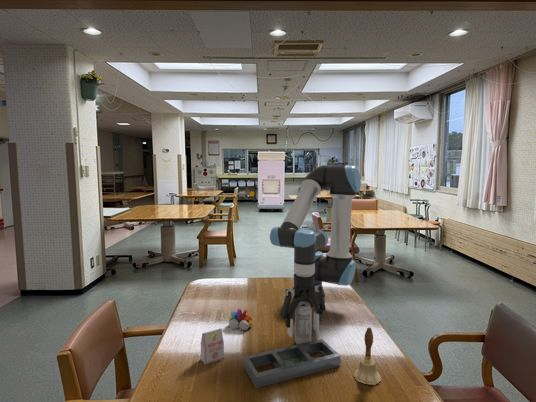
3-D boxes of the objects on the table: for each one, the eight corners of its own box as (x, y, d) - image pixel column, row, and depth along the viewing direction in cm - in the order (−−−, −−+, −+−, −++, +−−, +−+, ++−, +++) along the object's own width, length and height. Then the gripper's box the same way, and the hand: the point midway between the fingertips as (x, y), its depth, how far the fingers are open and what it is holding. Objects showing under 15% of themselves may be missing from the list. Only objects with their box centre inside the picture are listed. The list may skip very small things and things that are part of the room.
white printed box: (200, 359, 116) (200, 331, 115) (219, 353, 119) (219, 326, 118) (204, 364, 113) (204, 335, 112) (223, 358, 116) (223, 330, 115)
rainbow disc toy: (249, 332, 134) (249, 315, 133) (226, 330, 136) (225, 312, 135) (255, 322, 142) (255, 306, 141) (232, 320, 144) (232, 303, 143)
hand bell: (349, 370, 110) (351, 322, 108) (375, 368, 111) (377, 321, 109) (358, 386, 102) (360, 336, 100) (385, 385, 103) (388, 335, 101)
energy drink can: (312, 341, 128) (313, 302, 126) (309, 349, 122) (310, 309, 120) (297, 338, 130) (297, 300, 128) (292, 346, 124) (293, 306, 122)
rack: (321, 348, 123) (321, 338, 123) (340, 365, 112) (340, 355, 112) (243, 366, 112) (243, 356, 111) (256, 388, 101) (256, 377, 101)
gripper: (325, 266, 131) (324, 322, 133) (271, 274, 122) (270, 333, 125) (337, 272, 124) (335, 331, 126) (279, 281, 115) (279, 343, 118)
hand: (303, 332), depth 126 cm, fingers open, 10 cm apart
